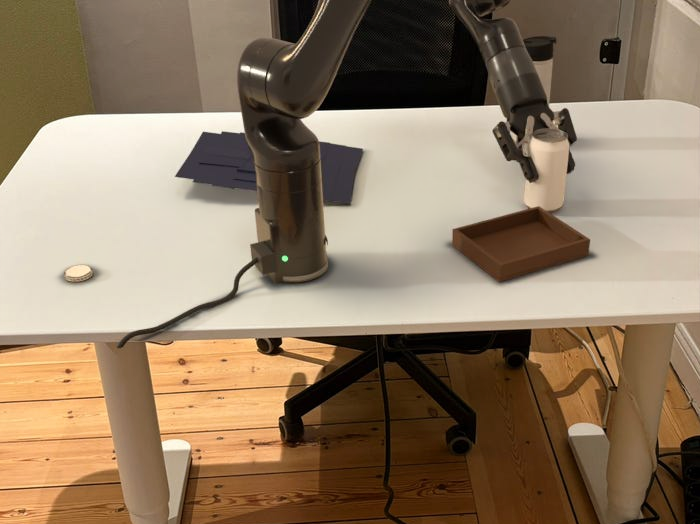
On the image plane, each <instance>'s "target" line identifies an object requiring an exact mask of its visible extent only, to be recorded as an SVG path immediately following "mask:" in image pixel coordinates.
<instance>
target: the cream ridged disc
mask: <svg viewBox="0 0 700 524" xmlns="http://www.w3.org/2000/svg"><path fill="white" fill-rule="evenodd" d="M93 273H94V272H93V268H92V267H91V266H90V265H89V264H88V265H87V264H77V265H72V266H69V267H68V268H66V269H65V270H64V271H63V275H64V279H65V280H66V281H68V282H82V281H85V280H88V279H90V278H91V277H92V276H93V275H94V274H93Z"/></svg>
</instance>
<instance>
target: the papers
mask: <svg viewBox="0 0 700 524" xmlns="http://www.w3.org/2000/svg"><path fill="white" fill-rule="evenodd" d="M318 141H319V140H318ZM319 145H320V159H321V175H322V191H323V202H324V201H325V202H334V203H342V204H351V200H352V199H351V197H352V192H353V186H354V185H353V184H354V178H355V177H354V176H355V173H356V170H357V167H358V165H359V162H360V160H361V156H362V153H363V151H364V148H361V147H354V146H348V145H345V144H338V143H331V142H328V141H327V142H326V141H319ZM174 178H178V179H179V178H180V179H186V180H192V183H195V184H196V183H197V184H204V185H209V186H212V187H216V188H217V187H218V188H223V189H224V188H225V189H232V190H235V189H237V190H244V191H252V192H257V185H256V175H255V166H254V157H253V152H252V150H251V148H250V146H249V144H248V142H247V140H246V136H245V132H234V131H233V132H231V131H225V130H224V131H223V130H222V131H221V132H220V133H217V132H210V131H202V133H201V134H200V135H199V137H198V139H197V140H196V143H195V144H194V146H193V148H192V149H191V151H190V153H189V154H188V156H187V157H186V158H185V160H184V161H183V163H182V165H181V166H180V167H179V169H178V170H177V172H176V173H175V175H174Z"/></svg>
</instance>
